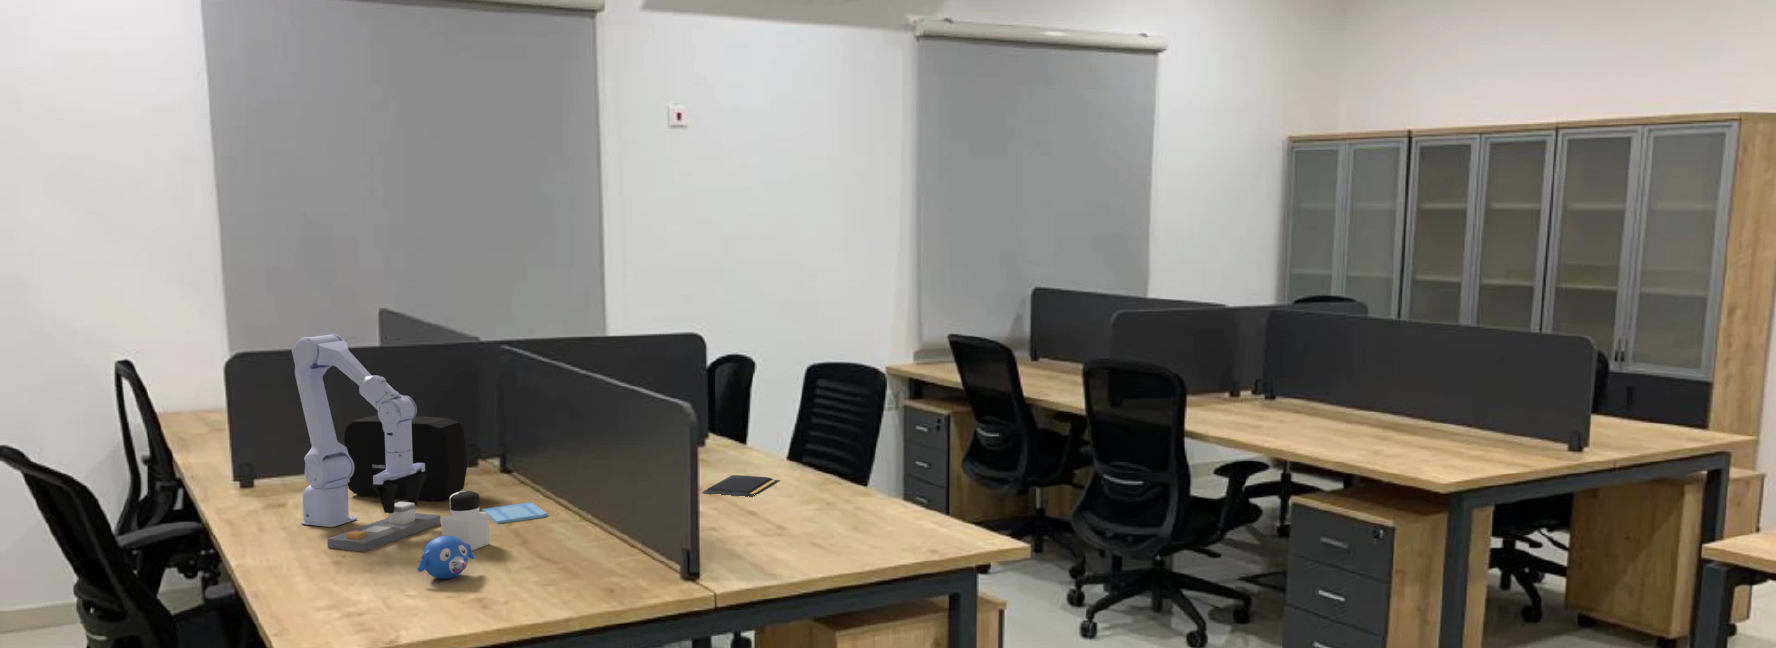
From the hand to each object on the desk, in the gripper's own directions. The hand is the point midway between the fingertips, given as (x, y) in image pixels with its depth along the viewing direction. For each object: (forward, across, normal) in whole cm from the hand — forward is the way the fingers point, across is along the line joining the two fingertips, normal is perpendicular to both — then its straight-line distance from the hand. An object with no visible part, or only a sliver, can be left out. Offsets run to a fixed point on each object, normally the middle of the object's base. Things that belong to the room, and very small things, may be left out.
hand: (400, 508), depth 267 cm
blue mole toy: (+5, -27, -35) cm, 45 cm away
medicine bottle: (+5, -7, -23) cm, 25 cm away
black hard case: (+5, +29, +22) cm, 37 cm away
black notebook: (+6, +63, -56) cm, 84 cm away
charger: (+5, 0, 0) cm, 5 cm away
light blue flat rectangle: (+6, +20, -16) cm, 26 cm away
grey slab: (+5, -5, 0) cm, 7 cm away
